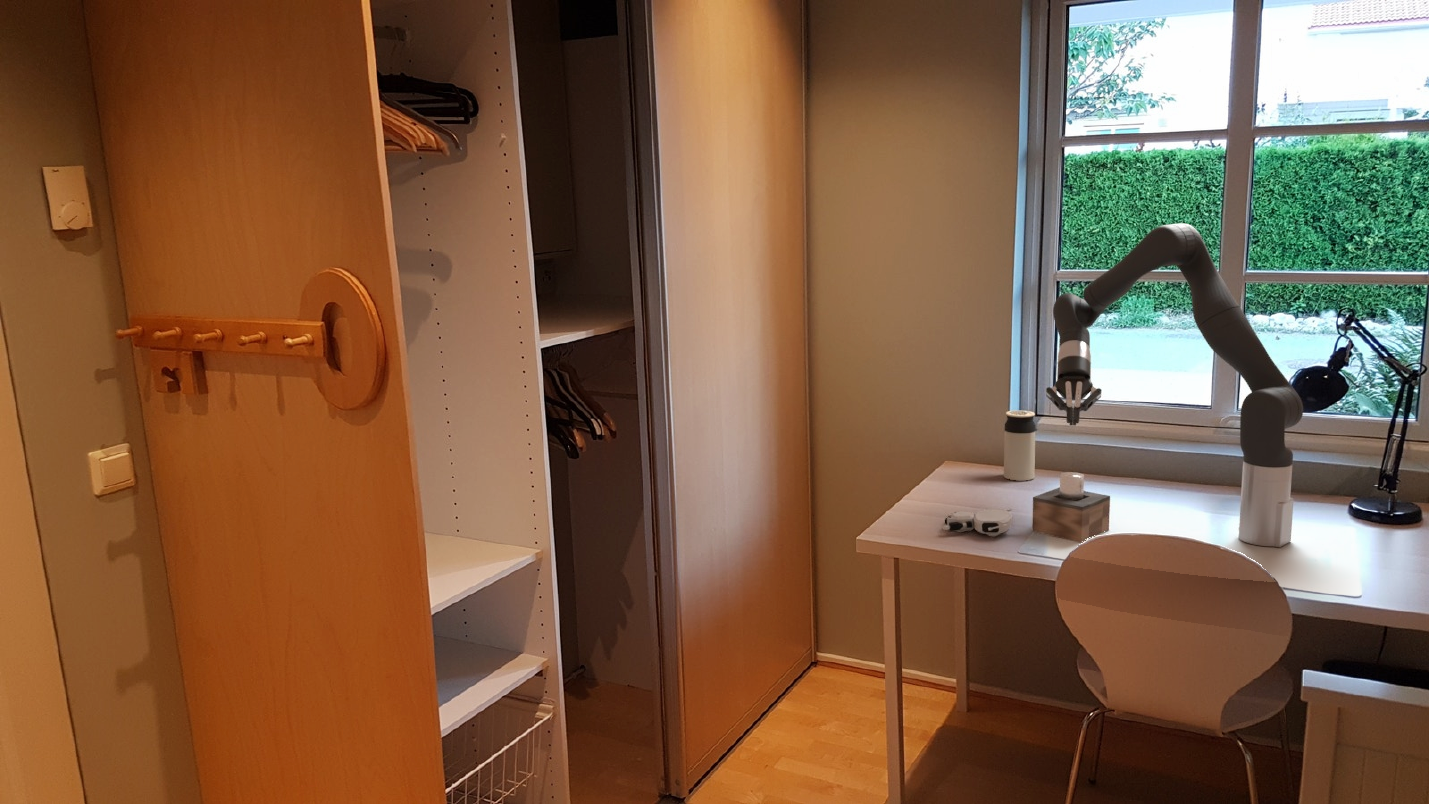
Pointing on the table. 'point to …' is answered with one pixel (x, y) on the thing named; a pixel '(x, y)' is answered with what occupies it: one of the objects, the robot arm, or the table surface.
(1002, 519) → the robot toy
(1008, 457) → the travel mug
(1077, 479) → the peg
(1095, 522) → the band block
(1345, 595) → the table surface
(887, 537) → the table surface
